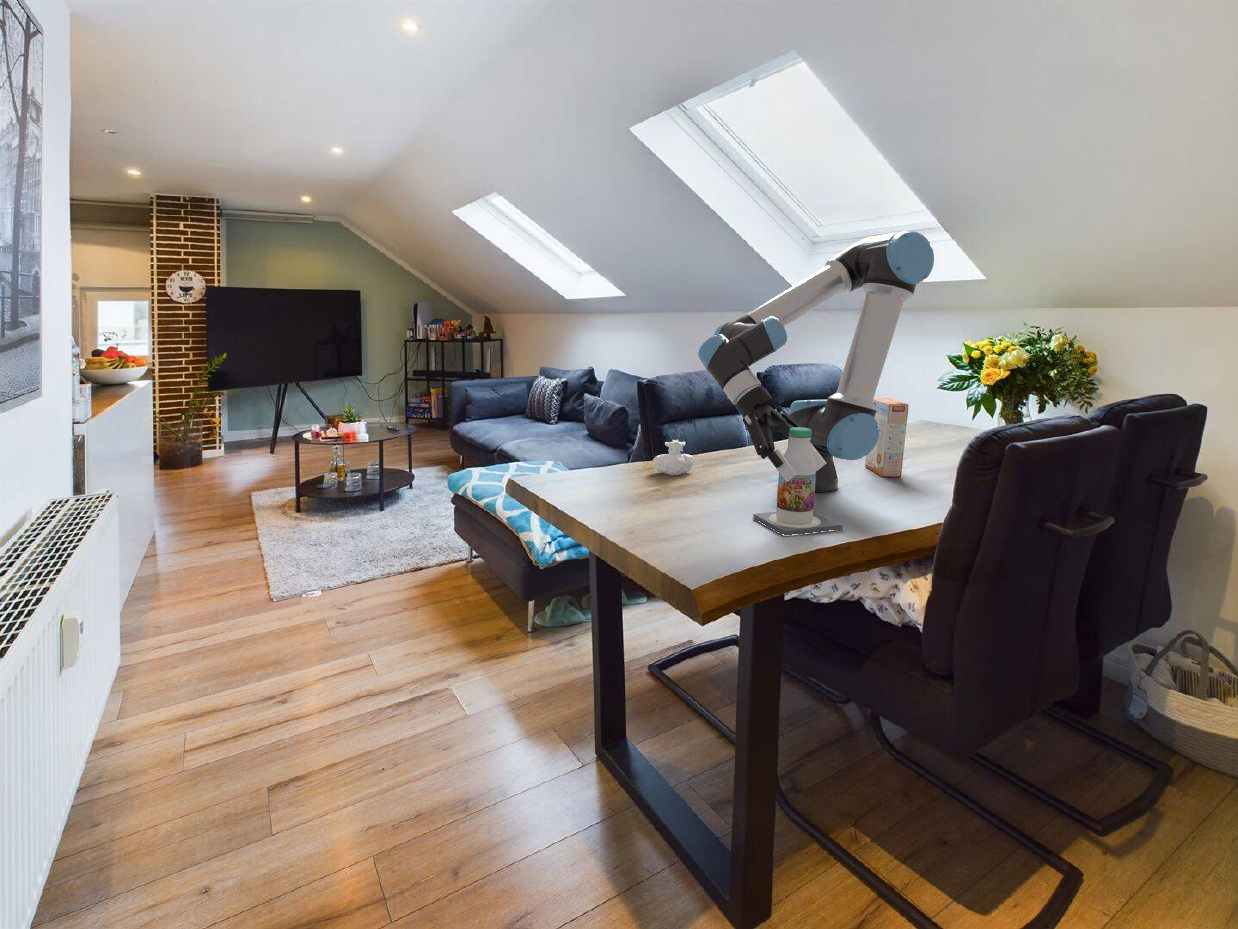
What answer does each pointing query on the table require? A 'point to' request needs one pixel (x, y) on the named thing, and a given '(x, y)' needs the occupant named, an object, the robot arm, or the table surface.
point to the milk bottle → (797, 480)
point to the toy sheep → (674, 460)
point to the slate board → (815, 525)
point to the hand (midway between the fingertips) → (807, 472)
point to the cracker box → (889, 438)
